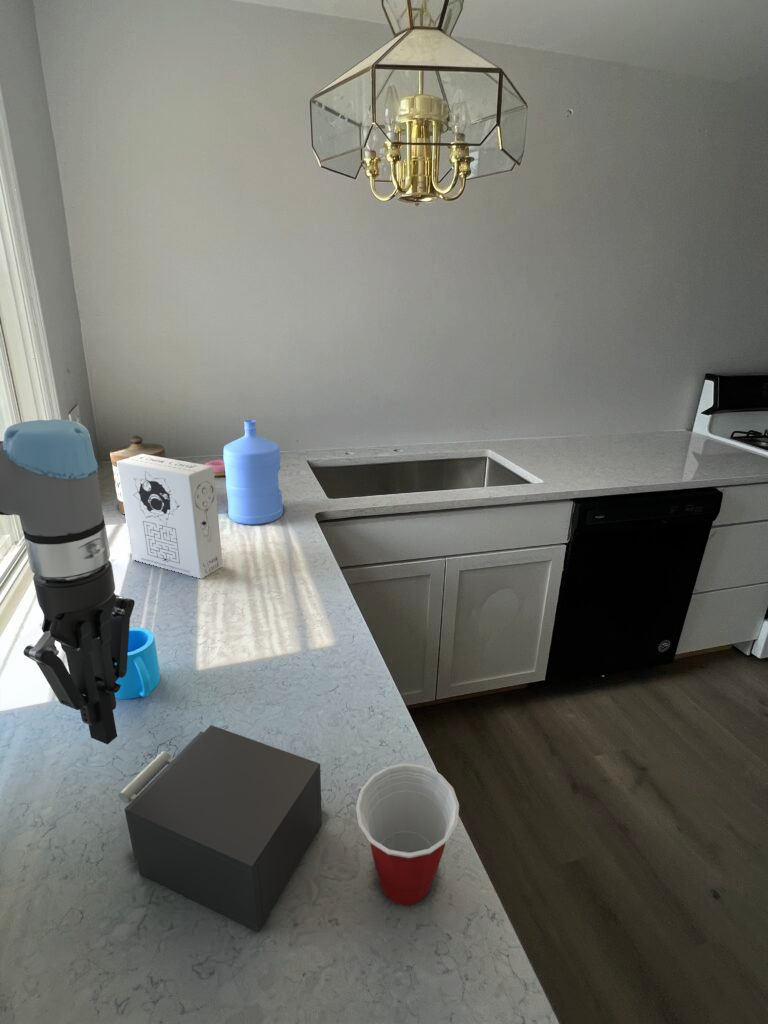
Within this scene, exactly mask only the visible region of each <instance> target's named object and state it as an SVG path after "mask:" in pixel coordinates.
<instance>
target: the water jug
mask: <svg viewBox="0 0 768 1024" xmlns="http://www.w3.org/2000/svg"><path fill="white" fill-rule="evenodd" d="M243 423H244V427H243V428H244V435H243V436H241V437H239V438H236V439H235V440H233V441H231V442H229V443H227V444H225V445H224V447H223V449H222V450H223V456H222V457H223V460H224V463H225V474H226V476H225V490H226V496H227V506H228V507H227V515H228V517H229V519H230V520H231V521H233V522H234V523H237V524H241V525H251V526H252V525H253V526H254V525H255V526H256V525H264V524H268V523H272V522H275V521H277V520H278V519H280V518H281V517H282V516H283V514H284V505H283V495H282V494H283V493H282V489H280V485H279V473H280V470H281V450H280V446H279V444H278V443H276V441H272V440H270V439H268V438H265V437H262V436H260V435H258V434H257V426H256V423H257V420H255V419H245V420H244V421H243Z"/></svg>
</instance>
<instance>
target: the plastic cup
mask: <svg viewBox="0 0 768 1024" xmlns="http://www.w3.org/2000/svg"><path fill="white" fill-rule="evenodd" d="M355 811H356V816H357V824H358V827H359V829H360V830H361V831H362V833H363V834H364V835H365V836H366V838H367V840H368V841H369V844H370V845H369V846H370V849H371V854H372V857H373V862H374V867H375V870H376V871H375V872H377V877H378V881H379V882H378V883H379V887H381V890H382V892H383V893H384V895H385V896H386V898H388V899H389V900H390V901H392V902H393V903H395V904H397V905H401V906H412V905H416V904H418V903H419V902H421V901H422V900H424V899H425V897H426V896H427V894H428V893H429V891H430V889H431V888H432V886H433V881H434V879H435V876H436V874H437V872H438V869H439V866H440V863H441V859H442V858H443V857H442V856H443V854H444V850H445V847H446V845H447V843H448V841H449V839H450V837H451V836H452V834H453V832H454V831H455V829H456V827H457V826H458V823H459V811H460V803H459V801H458V797H457V795H456V792H455V788H454V786H452V785H451V784H450V783H449V782H448V781H447V779H446V778H445V777H444V776H443V775H442V774H441V773H439V772H437V771H436V770H434V769H432V768H430V767H428V766H426V765H422V764H415V763H408V762H405V763H404V762H403V763H399V764H394V765H389V766H385V767H383V768H382V769H381V770H379V771H377V772H375V773H374V774H372V775H371V776H370V777H369V779H367V781H366V782H365V784H364V785H363V786H362V787H361V788H360V791H359V795H358V798H357V801H356V804H355ZM420 900H421V901H420ZM417 902H418V903H417ZM411 904H412V905H411Z"/></svg>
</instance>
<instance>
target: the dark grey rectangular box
mask: <svg viewBox="0 0 768 1024" xmlns="http://www.w3.org/2000/svg"><path fill="white" fill-rule="evenodd" d="M203 732H204V733H203V734H202V735H201V736H200V737H199V738H198V739H197V740H196V741H195V742H194V743H193V744H192V745H191V746H190V747H189V748H188V749H187V750H186V751H185V752H184V753H183V754H182V755H181V756H180V757H179V758H178V759H177V760H176V761H175V762H174V763H173V764H172V765H171V766H170V767H169V768H168V769H167V771H166V772H165V773H164V774H163V775H162V776H161V777H160V778H159V779H158V780H157V781H156V782H155V783H154V784H153V785H152V786H151V787H150V788H149V789H148V790H147V791H146V792H145V793H144V794H143V795H142V796H141V797H140V798H139V799H138V800H137V801H136V802H135V803H134V804H133V805H132V806H131V807H130V808H129V809H128V810H127V812H128V817H129V822H130V827H131V832H132V837H133V842H134V847H135V852H136V857H137V860H136V861H137V867H138V871H139V875H141V876H143V877H144V878H147V879H149V880H150V881H153V882H155V883H157V884H159V885H161V886H163V887H165V888H167V889H169V890H171V891H172V892H175V893H177V894H179V895H181V896H183V897H186V898H187V899H189V900H191V901H193V902H195V903H197V904H200V905H202V906H204V907H205V908H207V909H209V910H211V911H214V912H216V913H218V914H220V915H221V916H224V917H226V918H227V919H230V920H231V921H234V922H236V923H238V924H240V925H242V926H244V927H246V928H248V929H250V930H252V931H254V932H256V933H259V932H260V931H261V929H262V927H263V925H264V924H265V922H266V920H267V918H268V917H269V915H270V913H271V912H272V910H273V908H274V907H275V905H276V903H277V902H278V900H279V898H280V896H281V894H282V893H283V891H284V889H285V888H286V886H287V885H288V883H289V881H290V879H291V878H292V876H293V874H294V872H295V871H296V869H297V867H298V866H299V864H300V862H301V860H302V858H303V856H304V855H305V853H306V852H307V850H308V848H309V846H310V845H311V843H312V841H313V840H314V838H315V836H316V834H317V833H318V831H319V829H320V827H321V826H322V824H323V820H322V819H323V816H322V813H323V812H322V782H321V781H322V780H321V775H322V774H321V763H320V762H317V761H314V760H311V759H309V758H305V757H304V756H303V757H302V756H300V755H297V754H294V753H292V752H289V751H287V750H286V751H285V750H283V749H280V748H278V747H274V746H271V745H269V744H266V743H263V742H260V741H257V740H255V739H252V738H249V737H246V736H243V735H241V734H238V733H234V732H232V731H229V730H226V729H223V728H221V727H218V726H215V725H213V724H210V725H209V726H208V727H207V728H206V729H205V730H204V731H203Z"/></svg>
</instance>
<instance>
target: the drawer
mask: <svg viewBox="0 0 768 1024" xmlns="http://www.w3.org/2000/svg"><path fill="white" fill-rule="evenodd" d="M204 732H205V731H200V732H198V734H197V735H196V736H195V737H193V739H192V740H191V741H190V742H189V743H188V744H187V745H186V746H185V747H184V748H183V749H182V750H181V751H180V752H179V753H178V754H177V755H176V756H174V757H172V756H171V754H170V753H169V752H168V751H167V750H162V751H161V752H160V753H159V754H158V755H157V756H156V757H154V759H153V760H152V761H150V763H148V765H146V767H144V768H143V769H142V771H140V772H139V773H138V774H137V775H136V776H135V777H134V778H133V779H132V780H131V781H130V782H129V783H128V784H126V786H125V787H124V788H123V789H122V790H121V791H120V792H118V799H119V800H120V802H122V803H124V804H127V806H126V807H125V808H124V813H125V819H126V823H127V828H128V835H129V839H130V843H131V848H132V854H133V857H134V860H135V861H137V857H136V852H135V847H134V842H133V837H132V832H131V827H130V822H129V817H128V812H127V810H128V809H129V808H130V807H131V806H132V805H133V804H134V803H135V802H136V801H137V800H138V799H139V798H140V797H141V796H142V795H143V794H144V793H145V792H146V791H147V790H148V789H149V788H150V787H151V786H152V785H153V784H154V783H155V782H156V781H157V780H158V779H159V778H160V777H161V776H162V775H163V774H164V773H165V772H166V771H167V769H168V768H169V767H170V766H171V765H172V764H173V763H174V762H175V761H176V760H177V759H178V758H179V757H180V756H181V755H182V754H183V753H184V752H185V751H186V750H187V749H188V748H189V747H190V746H191V745H192V744H193V743H194V742H195V741H196V740H197V739H198V738H199V737H200V736H201V735H202V734H203V733H204Z"/></svg>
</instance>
